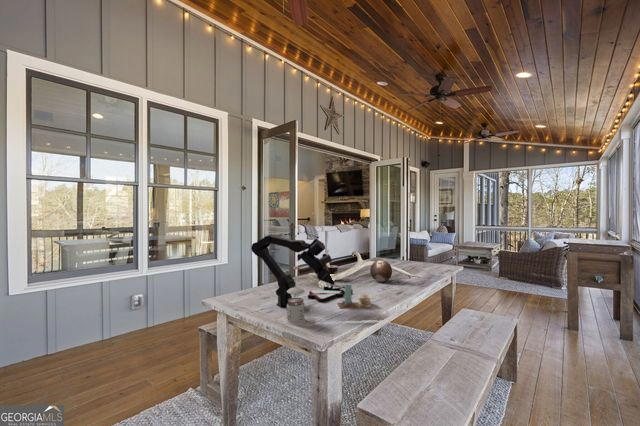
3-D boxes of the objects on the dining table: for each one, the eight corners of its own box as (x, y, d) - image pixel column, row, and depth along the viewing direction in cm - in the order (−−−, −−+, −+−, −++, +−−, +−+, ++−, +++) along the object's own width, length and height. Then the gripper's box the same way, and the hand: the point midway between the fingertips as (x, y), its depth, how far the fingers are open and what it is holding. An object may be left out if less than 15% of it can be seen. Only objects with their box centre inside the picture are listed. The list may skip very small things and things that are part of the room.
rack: (339, 311, 152) (339, 300, 152) (337, 305, 162) (337, 294, 162) (371, 310, 153) (371, 299, 153) (366, 304, 163) (366, 293, 163)
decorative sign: (356, 288, 183) (325, 300, 160) (356, 294, 183) (325, 306, 160) (331, 283, 195) (299, 294, 172) (331, 289, 195) (299, 300, 172)
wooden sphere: (370, 283, 207) (370, 261, 207) (369, 278, 222) (369, 258, 222) (393, 284, 205) (393, 262, 205) (391, 279, 220) (391, 258, 219)
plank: (345, 306, 156) (345, 284, 156) (344, 304, 158) (344, 283, 158) (351, 306, 156) (351, 284, 156) (350, 304, 159) (350, 283, 159)
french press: (284, 325, 134) (284, 268, 133) (285, 316, 145) (285, 263, 145) (306, 325, 134) (306, 268, 134) (306, 315, 146) (306, 263, 145)
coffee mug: (329, 282, 211) (329, 268, 210) (323, 279, 218) (323, 265, 218) (343, 280, 216) (343, 266, 216) (337, 278, 224) (337, 264, 224)
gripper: (324, 252, 146) (347, 274, 148) (321, 247, 165) (341, 267, 166) (307, 268, 146) (330, 291, 147) (306, 261, 164) (326, 281, 166)
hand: (333, 282), depth 156 cm, fingers open, 9 cm apart
